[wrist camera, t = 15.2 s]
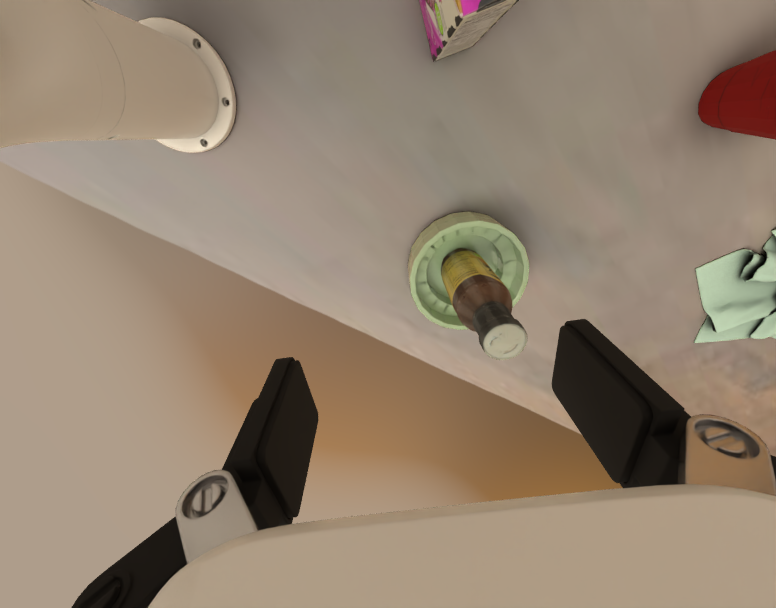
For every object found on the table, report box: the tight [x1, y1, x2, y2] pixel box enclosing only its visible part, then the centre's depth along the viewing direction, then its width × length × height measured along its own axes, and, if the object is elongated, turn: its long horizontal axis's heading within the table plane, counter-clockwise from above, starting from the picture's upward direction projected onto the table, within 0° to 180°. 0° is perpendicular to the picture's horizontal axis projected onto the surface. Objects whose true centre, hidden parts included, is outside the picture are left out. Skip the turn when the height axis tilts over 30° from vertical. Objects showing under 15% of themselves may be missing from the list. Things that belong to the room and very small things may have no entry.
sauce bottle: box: [441, 248, 527, 360], centre depth 37 cm, size 6×6×20 cm
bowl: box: [408, 211, 529, 330], centre depth 44 cm, size 15×15×6 cm
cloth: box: [694, 230, 776, 343], centre depth 47 cm, size 20×22×2 cm
